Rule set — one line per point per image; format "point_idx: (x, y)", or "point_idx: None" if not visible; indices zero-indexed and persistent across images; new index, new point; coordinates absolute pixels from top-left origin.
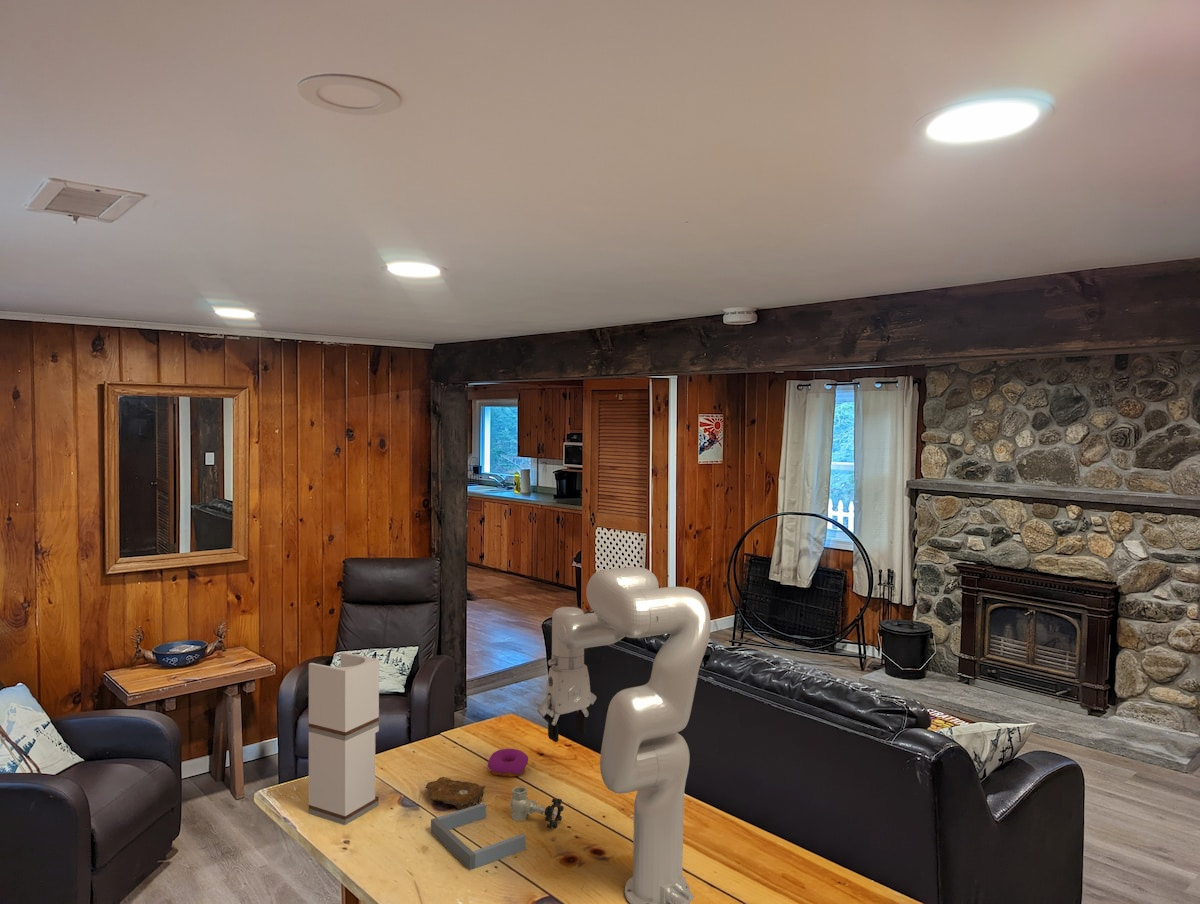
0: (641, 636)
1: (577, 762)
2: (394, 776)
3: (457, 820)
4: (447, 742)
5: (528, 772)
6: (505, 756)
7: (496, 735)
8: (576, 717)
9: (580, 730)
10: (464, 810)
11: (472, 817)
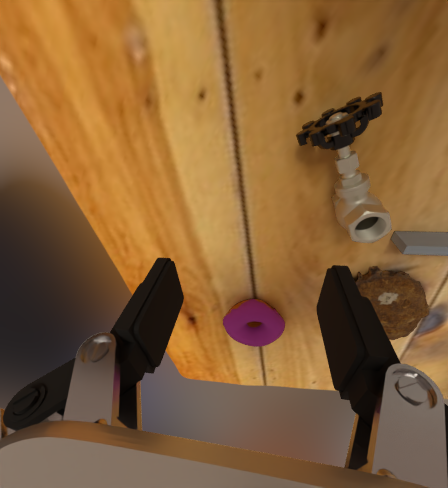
0: None
1: None
2: None
3: None
4: (271, 377)
5: (233, 297)
6: (254, 333)
7: (216, 364)
8: (161, 353)
9: (173, 282)
10: None
11: (431, 236)
